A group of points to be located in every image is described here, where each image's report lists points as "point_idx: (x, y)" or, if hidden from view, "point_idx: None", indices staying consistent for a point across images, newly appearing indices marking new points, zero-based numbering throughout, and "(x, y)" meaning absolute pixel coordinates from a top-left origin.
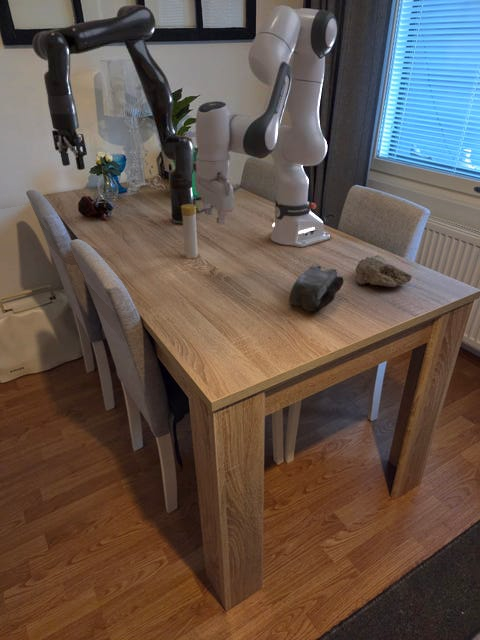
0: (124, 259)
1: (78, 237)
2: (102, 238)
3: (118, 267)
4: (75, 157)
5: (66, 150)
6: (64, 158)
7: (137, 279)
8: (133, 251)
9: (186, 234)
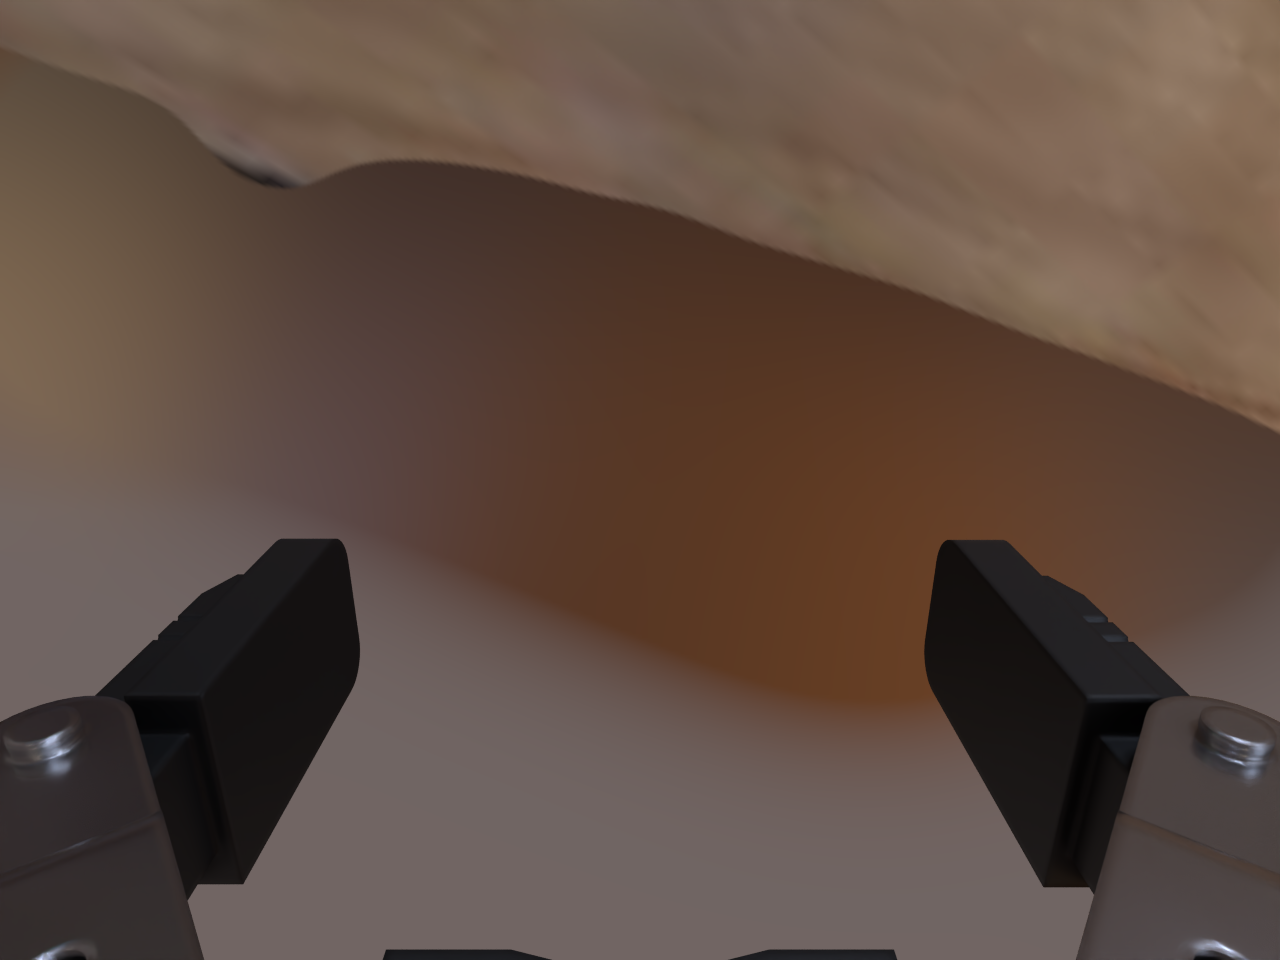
0: (937, 191)
1: (275, 167)
2: (437, 31)
3: (1002, 307)
4: (1046, 883)
5: (159, 791)
6: (294, 734)
7: (1240, 337)
8: (879, 33)
9: None
